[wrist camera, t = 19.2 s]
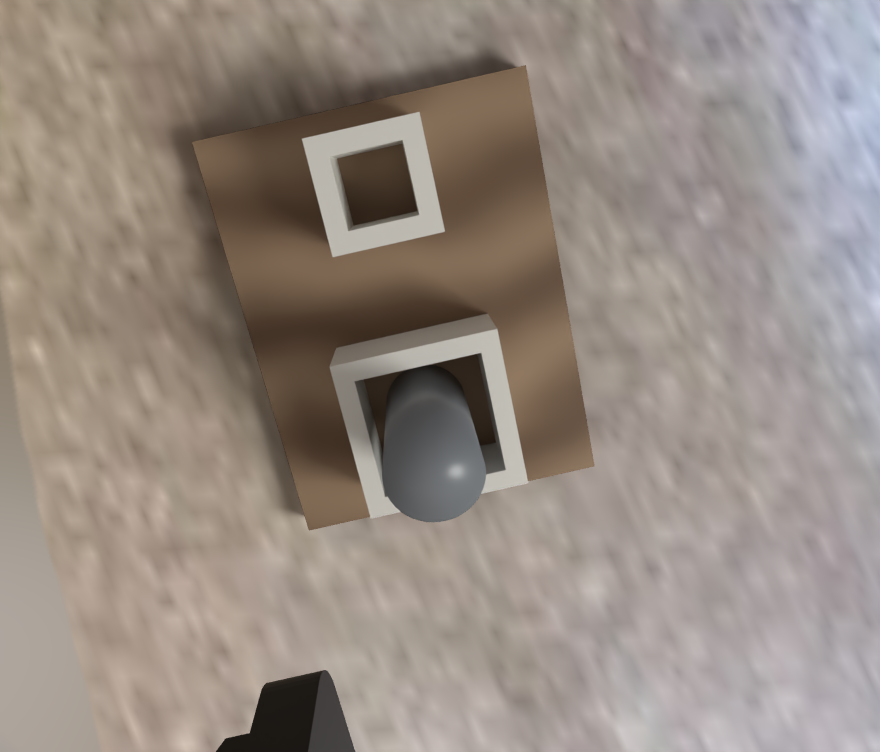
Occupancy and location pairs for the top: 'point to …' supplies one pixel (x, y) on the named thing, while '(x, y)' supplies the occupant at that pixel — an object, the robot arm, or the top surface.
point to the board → (400, 274)
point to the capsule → (430, 446)
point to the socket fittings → (413, 345)
